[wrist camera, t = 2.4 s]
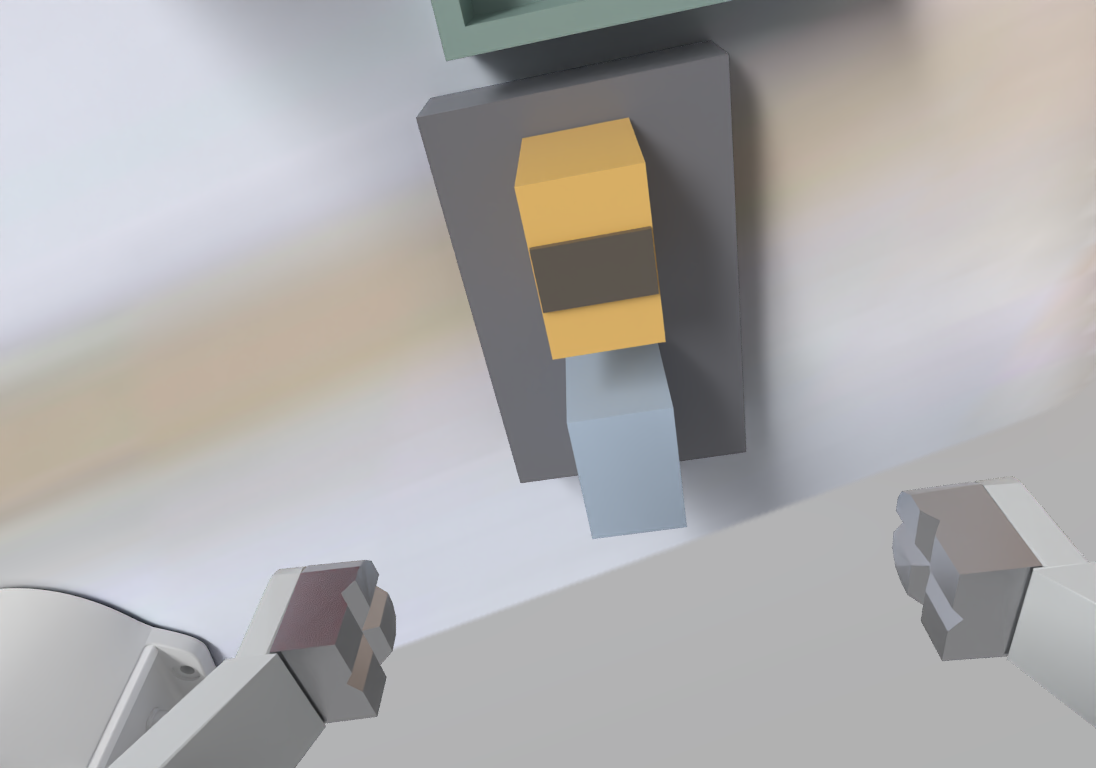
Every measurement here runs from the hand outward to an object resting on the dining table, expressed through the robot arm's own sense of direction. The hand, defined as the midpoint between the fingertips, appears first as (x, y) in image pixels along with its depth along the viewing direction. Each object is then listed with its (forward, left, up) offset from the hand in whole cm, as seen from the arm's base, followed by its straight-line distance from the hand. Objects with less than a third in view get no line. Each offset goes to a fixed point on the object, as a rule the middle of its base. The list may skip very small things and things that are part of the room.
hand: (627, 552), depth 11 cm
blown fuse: (0, 0, -18) cm, 18 cm away
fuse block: (-4, 0, -19) cm, 19 cm away
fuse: (-8, 0, -18) cm, 20 cm away
